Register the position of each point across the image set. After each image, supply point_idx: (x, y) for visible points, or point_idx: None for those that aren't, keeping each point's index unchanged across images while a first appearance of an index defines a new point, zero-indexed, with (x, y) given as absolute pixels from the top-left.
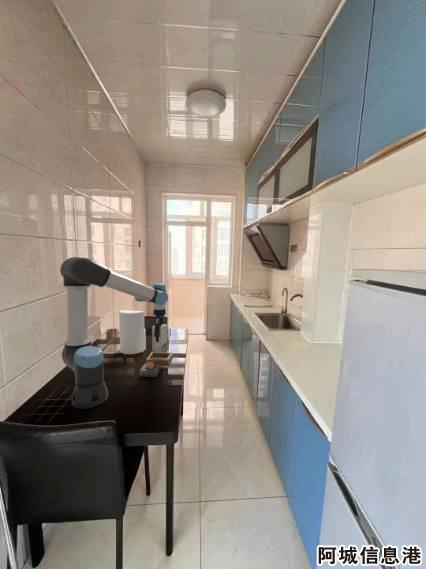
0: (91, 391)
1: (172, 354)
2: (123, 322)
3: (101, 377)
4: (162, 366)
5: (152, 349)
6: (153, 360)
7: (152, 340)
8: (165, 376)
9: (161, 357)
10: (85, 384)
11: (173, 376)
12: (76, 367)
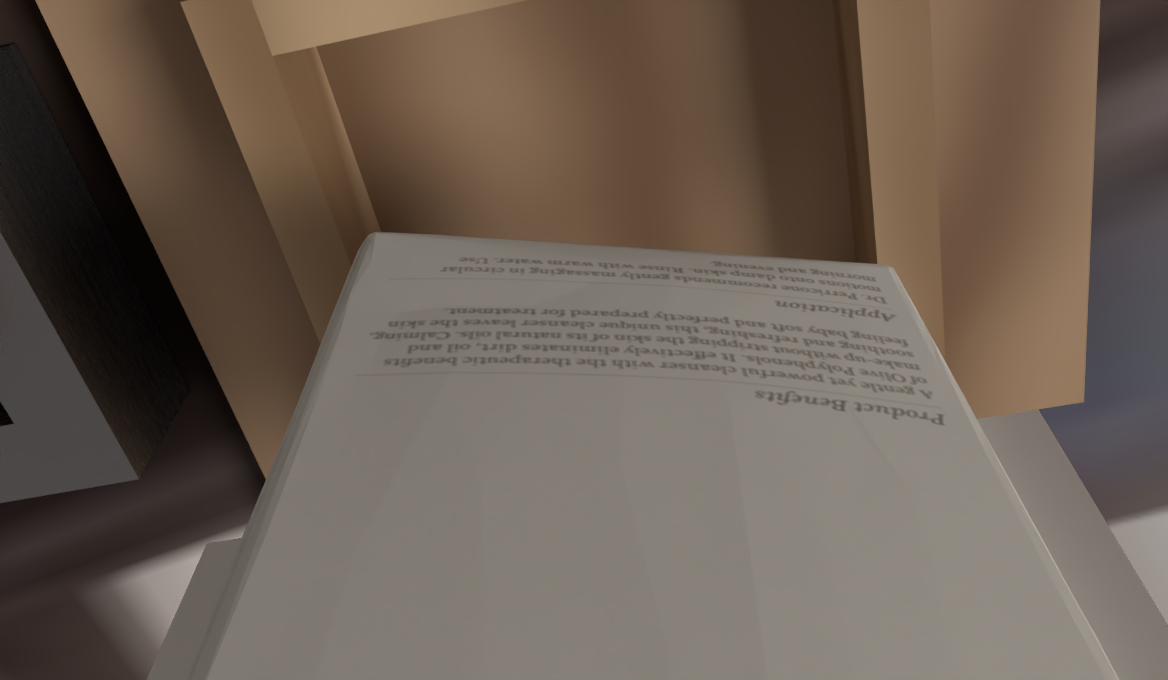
0: None
1: (1049, 387)
2: None
3: None
4: (266, 436)
5: (351, 270)
6: (279, 223)
7: (237, 560)
8: (4, 572)
9: (787, 200)
10: None
11: (84, 673)
12: None
